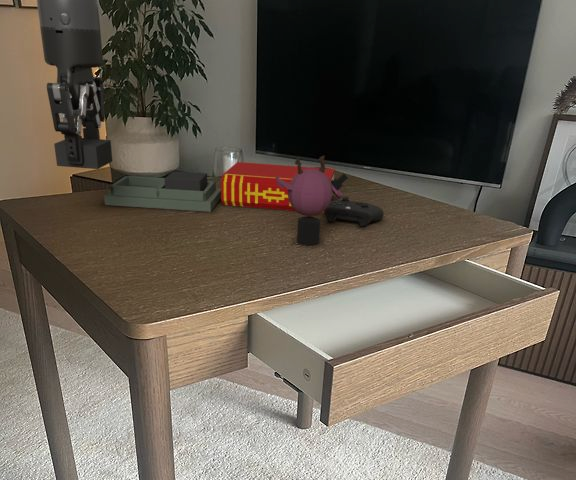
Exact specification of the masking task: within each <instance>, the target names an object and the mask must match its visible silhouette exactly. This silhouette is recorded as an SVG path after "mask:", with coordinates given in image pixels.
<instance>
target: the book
mask: <svg viewBox="0 0 576 480" xmlns="http://www.w3.org/2000/svg"><path fill="white" fill-rule="evenodd" d="M297 166H298V165H286V164H285V165H283V164H273V163H271V164H270V163H259V162H258V163H256V162H245V161H244V162H243V161H237V162H236V163H234V164H233V165H232V166H230V167H229V168H228V169H227V170H226V171H225V172H224V173H222V174H221V181H220V189H221V199H220V201H221V203H222V206H232V207H233V206H235V207H247V208H257V209H258V208H260V209H272V210H283V211H293V212H295V211H296V210H295V209H294V208H293V207H292V206H291V204H290V202H289V198H288V189H287V188H285V187H284V188H283V189H282V188H281V187H280V186H279V185H278V184H277V183H276V181H277V180H276V179H275V178H276V176H277V177H278V178H280V179H281V180H283V181H284V182H287V183H290V182H291V180H292V179H293V178H294V176H295V175H296V174H297V173H298V168H297ZM305 169H316V170H319V169H320V167H311V166H301V170H305ZM335 171H336V169H335V168H326V167H325V172H324V174H325V175H326V176H327V177H328V178H329V180H330V182H331V181H332V180H334V179H335ZM333 196H334V193H333V192H332V198H331V201H333ZM296 212H297V211H296ZM322 214H326V209H325V210H324V211H323V212H322Z"/></svg>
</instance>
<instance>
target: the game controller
mask: <svg viewBox="0 0 576 480" xmlns="http://www.w3.org/2000/svg"><path fill="white" fill-rule="evenodd" d="M325 214H326V215H325V216H326V218H327V221H328V222H330V223H334V222H335V221H336V220H344V221H352V222H358V225H359V226H360V227H363V228H364V227H366V226H368V225H369V224H370V223H371V222H373V223H375V222H380V221H381V220H382V219H383V218H384V214H385V213H384V210H383V208H381V207H379V206H377V205H374V204H372V203H368V202H362V201H355V200H350V198H349V196H341V199H335V200H331V201H330V203H329V205H328V207H327V208H326V213H325Z"/></svg>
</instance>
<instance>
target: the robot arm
mask: <svg viewBox="0 0 576 480" xmlns="http://www.w3.org/2000/svg"><path fill="white" fill-rule="evenodd" d="M36 5H37V13H38V20H39V28H40V30H39V31H40V36H41V43H42V44H41V45H42V53H43V58H44V62H45V63H46V64H47V65H49V66H51V67H53V66H55V67H56V70H57V71H56V73H57V74H56V75H57V76H56V82H47V83H46V92H47V97H48V102H49V107H50V112H51V113H50V114H51V118H52V122H53V129H54V131H55V132H57V133H60V134H61V135H63V137H64V140H65V146H66V154H67V161H68V162H69V163H70V164H82V163H84V153H83V143H82V138H89V139H101V137H100V129H101V127H102V123H104V122H105V120H106V117H105V93H104V79H103V78H102V77H99V76H94V71H93V68H95V69H96V68H101V67H102V66H103V64H104V57H103V47H102V46H103V45H102V34H101V24H100V23H101V22H100V12H99V5H98V0H36ZM82 135H83V136H82Z"/></svg>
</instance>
